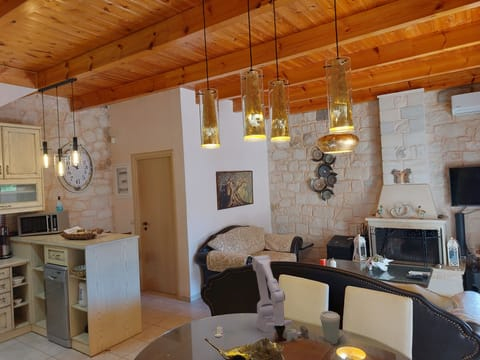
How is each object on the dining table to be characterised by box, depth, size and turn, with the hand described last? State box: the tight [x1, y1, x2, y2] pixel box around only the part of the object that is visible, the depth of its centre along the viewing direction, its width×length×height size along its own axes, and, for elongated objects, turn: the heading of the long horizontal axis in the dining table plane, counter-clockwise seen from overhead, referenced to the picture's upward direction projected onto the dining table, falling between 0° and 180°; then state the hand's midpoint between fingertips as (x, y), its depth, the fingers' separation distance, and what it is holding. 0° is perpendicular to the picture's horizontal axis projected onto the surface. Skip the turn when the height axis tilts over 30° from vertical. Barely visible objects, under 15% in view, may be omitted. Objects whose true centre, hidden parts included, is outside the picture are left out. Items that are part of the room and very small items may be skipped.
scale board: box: [274, 325, 309, 344], centre depth 184 cm, size 18×12×6 cm, turn 104°
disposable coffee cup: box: [319, 310, 341, 345], centre depth 181 cm, size 11×11×15 cm
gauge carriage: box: [283, 328, 302, 342], centre depth 183 cm, size 9×7×4 cm
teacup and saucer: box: [214, 326, 223, 338], centre depth 198 cm, size 9×8×4 cm
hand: (280, 339), depth 182 cm, fingers closed
